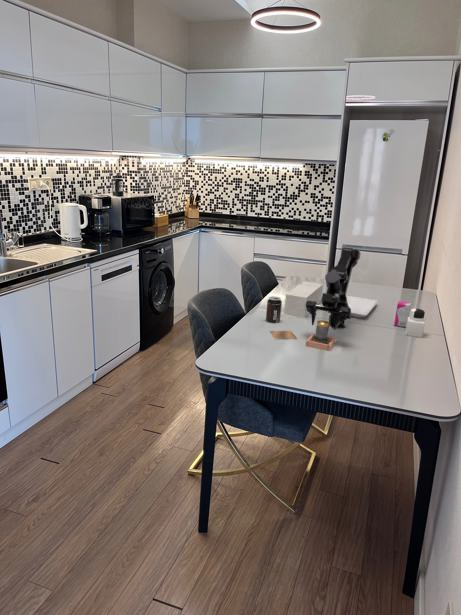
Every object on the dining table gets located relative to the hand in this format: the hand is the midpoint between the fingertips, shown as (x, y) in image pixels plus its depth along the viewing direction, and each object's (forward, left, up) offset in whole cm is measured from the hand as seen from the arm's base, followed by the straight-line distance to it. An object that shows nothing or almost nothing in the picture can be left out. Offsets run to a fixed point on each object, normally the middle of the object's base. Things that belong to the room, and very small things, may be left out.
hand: (323, 327), depth 191 cm
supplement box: (-49, -24, -8) cm, 55 cm away
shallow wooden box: (+1, +1, -8) cm, 8 cm away
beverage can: (+14, -29, -8) cm, 33 cm away
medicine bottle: (-49, -12, -8) cm, 51 cm away
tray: (-37, -48, -9) cm, 61 cm away
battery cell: (+1, +1, -7) cm, 8 cm away
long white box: (-8, -51, -9) cm, 53 cm away
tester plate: (+14, -10, -8) cm, 19 cm away
